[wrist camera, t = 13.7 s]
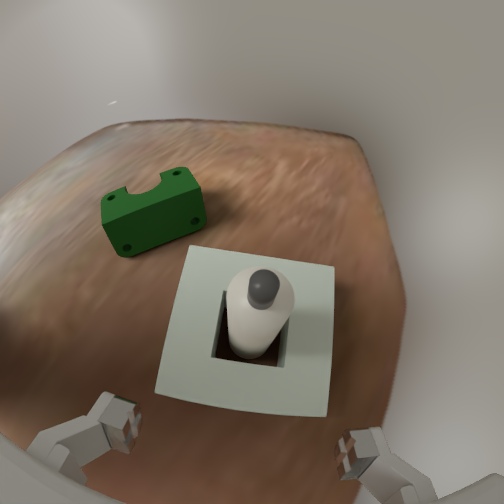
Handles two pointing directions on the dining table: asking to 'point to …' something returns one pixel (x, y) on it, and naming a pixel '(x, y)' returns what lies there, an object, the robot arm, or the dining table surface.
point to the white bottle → (257, 309)
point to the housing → (244, 374)
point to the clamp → (153, 213)
